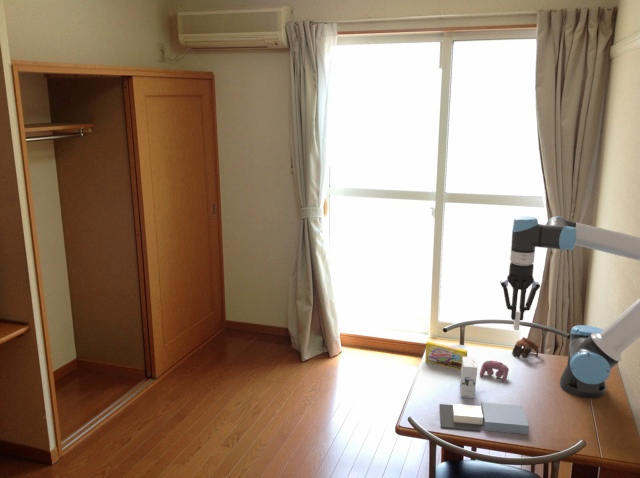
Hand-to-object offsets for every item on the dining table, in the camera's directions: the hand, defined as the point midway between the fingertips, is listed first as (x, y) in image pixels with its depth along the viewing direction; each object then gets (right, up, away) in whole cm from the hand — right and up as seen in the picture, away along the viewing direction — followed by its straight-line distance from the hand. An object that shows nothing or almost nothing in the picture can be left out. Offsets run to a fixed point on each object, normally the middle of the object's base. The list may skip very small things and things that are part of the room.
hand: (516, 328), depth 198 cm
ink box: (-15, -24, +6) cm, 29 cm away
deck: (-8, -28, -12) cm, 32 cm away
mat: (-22, -28, -10) cm, 37 cm away
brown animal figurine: (+15, -17, +35) cm, 42 cm away
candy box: (-19, -19, +27) cm, 38 cm away
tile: (-20, -27, -11) cm, 35 cm away
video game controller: (-2, -21, +17) cm, 28 cm away
